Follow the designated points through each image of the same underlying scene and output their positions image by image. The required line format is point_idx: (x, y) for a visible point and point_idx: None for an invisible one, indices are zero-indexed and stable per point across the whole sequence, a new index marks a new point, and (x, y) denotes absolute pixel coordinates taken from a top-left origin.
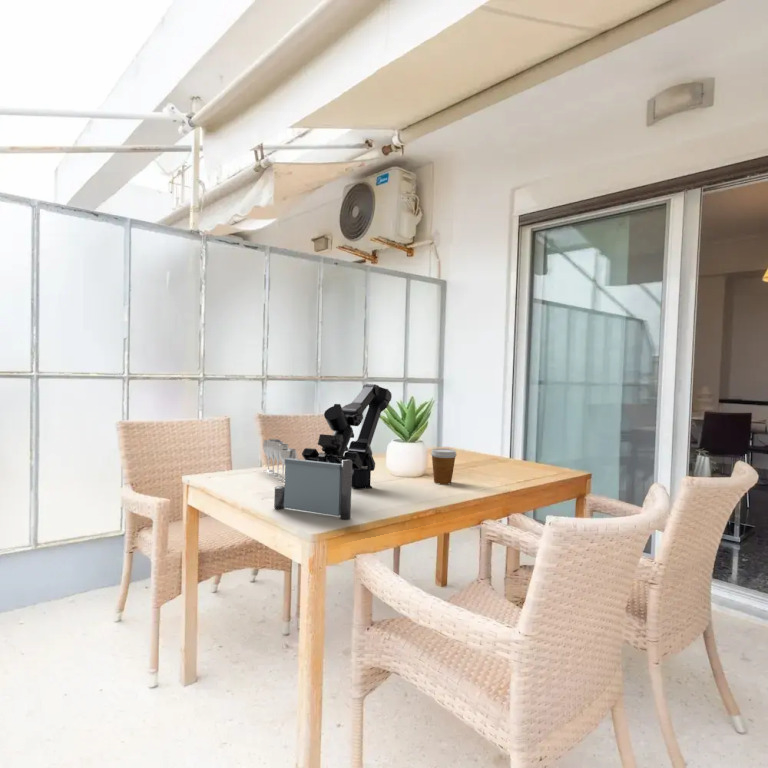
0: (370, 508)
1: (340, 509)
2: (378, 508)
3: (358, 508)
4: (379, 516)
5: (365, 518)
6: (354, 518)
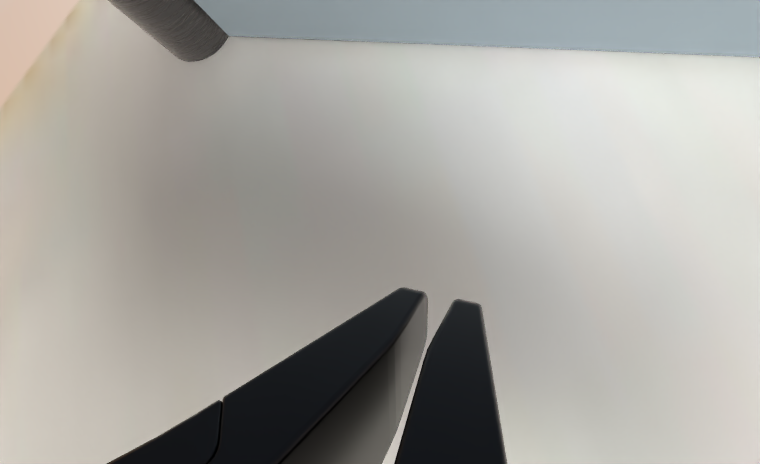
0: (55, 355)
1: (203, 6)
2: (2, 375)
3: (140, 325)
4: (3, 164)
5: (80, 84)
6: (144, 54)
